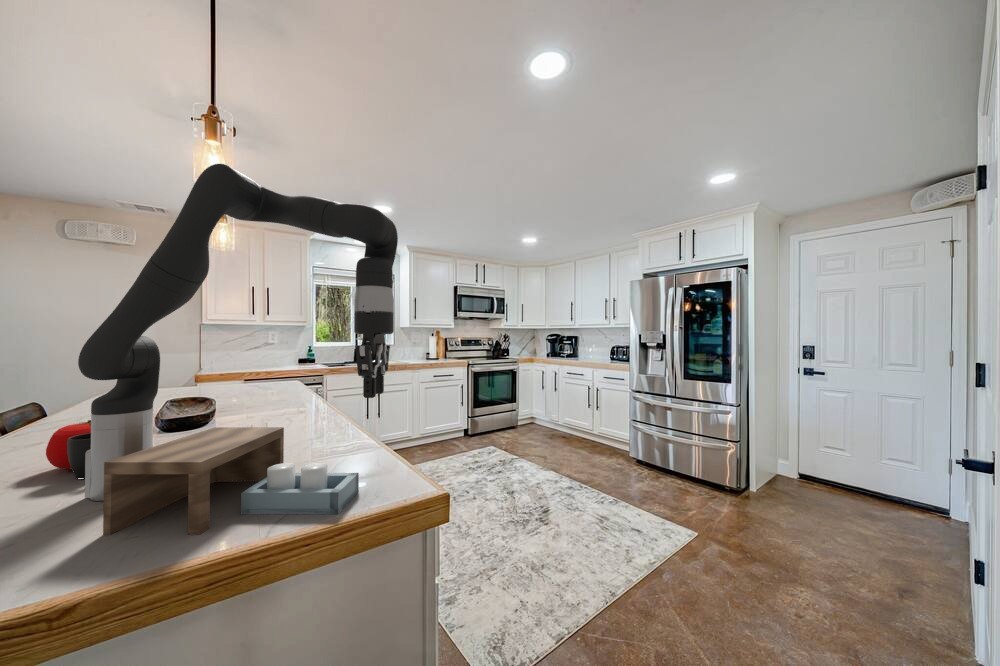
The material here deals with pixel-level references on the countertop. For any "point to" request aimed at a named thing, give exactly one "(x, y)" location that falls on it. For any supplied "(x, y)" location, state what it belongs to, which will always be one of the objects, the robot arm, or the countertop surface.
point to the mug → (78, 453)
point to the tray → (300, 491)
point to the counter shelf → (186, 473)
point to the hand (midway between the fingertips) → (373, 395)
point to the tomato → (64, 443)
